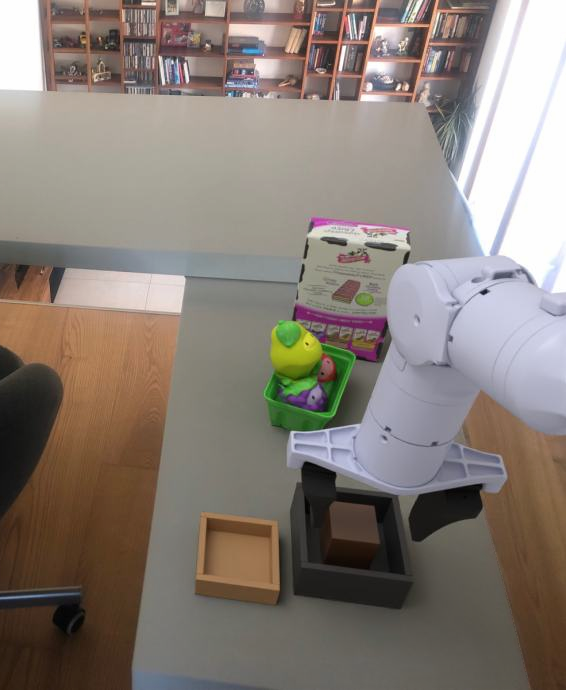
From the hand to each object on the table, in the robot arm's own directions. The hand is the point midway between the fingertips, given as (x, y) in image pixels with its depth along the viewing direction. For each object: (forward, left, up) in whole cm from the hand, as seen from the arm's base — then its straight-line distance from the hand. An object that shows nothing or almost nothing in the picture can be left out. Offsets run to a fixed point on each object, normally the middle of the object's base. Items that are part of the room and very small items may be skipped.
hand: (364, 523), depth 55 cm
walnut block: (+2, -3, -10) cm, 11 cm away
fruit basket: (+17, -16, -11) cm, 26 cm away
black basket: (+2, -3, -10) cm, 11 cm away
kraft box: (+8, +5, -10) cm, 14 cm away
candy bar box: (+21, -28, -11) cm, 37 cm away
